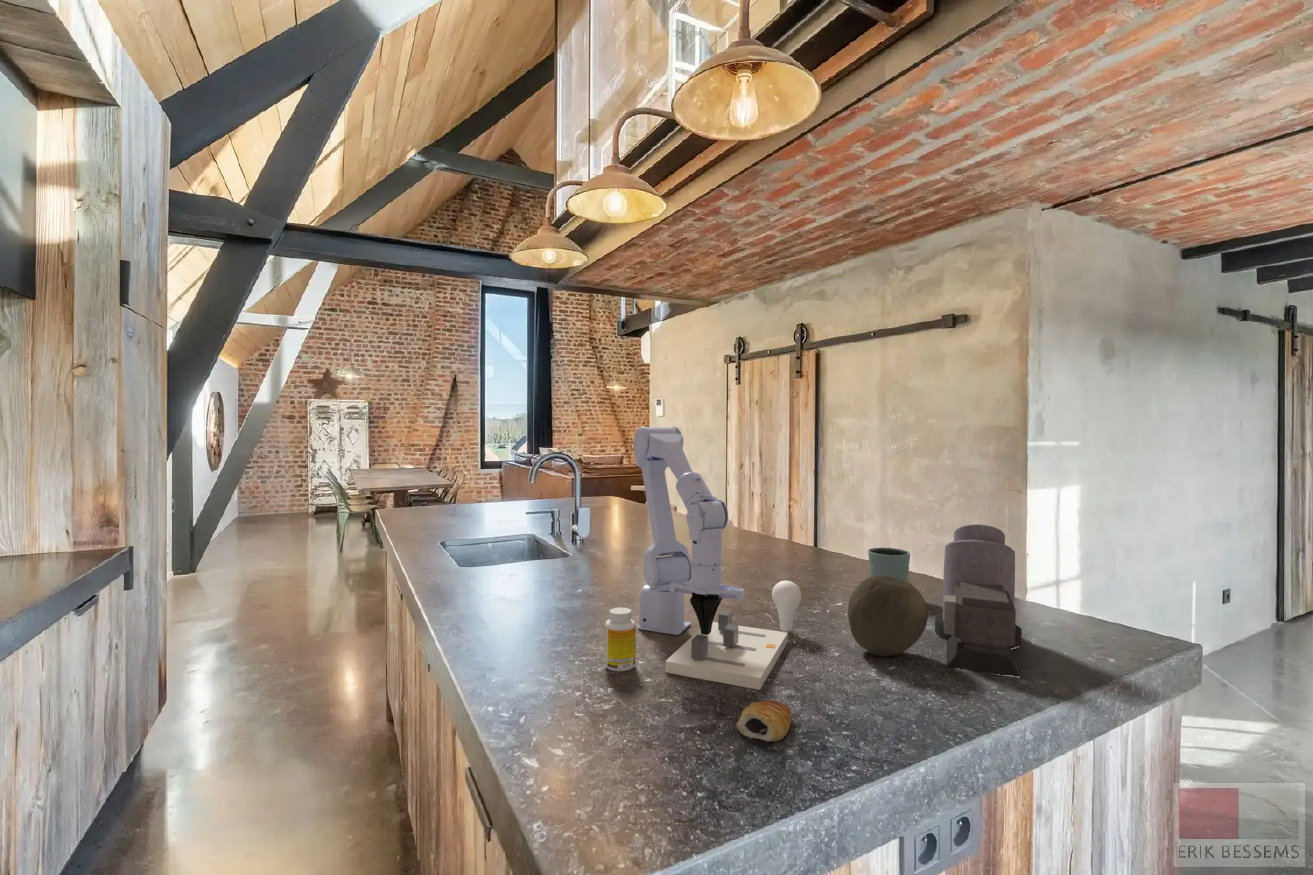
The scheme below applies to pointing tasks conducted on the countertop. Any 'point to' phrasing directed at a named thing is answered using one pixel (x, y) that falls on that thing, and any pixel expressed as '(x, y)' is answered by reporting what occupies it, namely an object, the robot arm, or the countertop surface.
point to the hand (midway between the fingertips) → (706, 633)
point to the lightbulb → (786, 602)
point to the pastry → (765, 721)
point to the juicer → (979, 602)
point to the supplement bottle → (620, 640)
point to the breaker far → (724, 619)
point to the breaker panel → (732, 657)
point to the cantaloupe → (886, 615)
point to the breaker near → (699, 646)
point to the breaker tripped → (730, 635)
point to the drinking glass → (889, 562)
